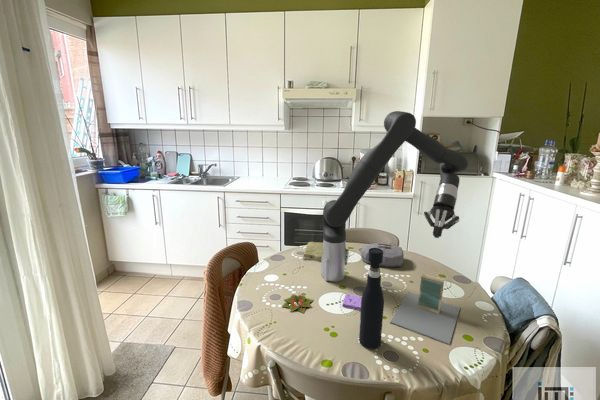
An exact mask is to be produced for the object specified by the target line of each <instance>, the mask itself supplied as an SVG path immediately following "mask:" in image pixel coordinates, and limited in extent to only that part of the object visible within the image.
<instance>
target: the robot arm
mask: <svg viewBox="0 0 600 400" xmlns="http://www.w3.org/2000/svg"><path fill="white" fill-rule="evenodd" d="M383 121H384V122H383V127H384V130H385V131H386V134H385V135H384V137H383V138H382V139H381V141H380V142H378V143H377V144H376V145H375V146H374V147H372V148H371V149H370V150H369V151H367V152H366V153H365V154H364V155H363V156H362V157H361V158H360V159H359V161H358V162H357V163H356V165H355V166H354V168H353V169H352V171H351V173H350V175H349V178H348V180H347V183H346V185H345V187H344V189H343V191H342V193H341V194H340V195H339V196H338V198H337V199H331V200H329V201H328V202H326V203H325V205H324V207H323V210H322V233H323V235H322V236H323V238H322V239H323V241H322V243H323V254H322V258H321V262H320V263H321V264H320V265H321V271H320V272H321V276H322V279H323V280H324V281H325V282H335V283H336V282H337V283H338V282H340V281H341V282H342V281H344V278H345V275H346V274H345V272H346V270H345V268H346V266H345V265H346V251H345V245H346V242H347V241H346V240H347V233H346V222H347V221H348V219H349V218H350V216H351V215H352V213H353V211H354V209H355V207H356V206H357V204H358V203H359V202H360V200H361V199H362V197H363V196H364V195H365V194H366V192H368V190H369V188H370V187H371V186H372V185H373V183H374V182H375V181H376V179H377V178H378V176H379V175H380V173H382V171H383V169H384V168H385V167H386V166H387V164H388V163H389V161H390V160H391V159H392V157H393V156H394V154H395V153H396V152H397V150H399V148H400V147H402V145H403V144H404V143H407V144H410V145H411V146H412V147H414V148H415V149H416V150H418V151H419V152H420V153H422V154H423V155H424V156H426V157H427V158H428V159H430V160H431V161H432V162H434V163H436V164H439V173H440V174H439V176H440V179H439V184H438V187H437V189H436V192H435V193H436V194H435V197H434V200H433V204H432V207H431V208H430V210H428V211H423V215H424V218H425V219H426V221H427V223H428V224H429V226H430V227H432V228H433V231H432V236H433V237H434V238H435V239H439V238H441V237H442V234H443V231H444V230H449V229H450V228H452V227H453V226H455V225H456V224H458V223H459V222H460V216H458V215H456V214H455V207H456V203H457V200H458V190H459V186H460V176H459V175H457V173H460V172H464V171H466V170H467V169H468V167H469V160H468V158H467V157H466V156H465V154H463V153H461V152H459V151H456V150H453V149H450V148H448V147H446V146H445V145H444V144H442V143H441V142H440V141H439V140H437V139H435V138H434V137H432V136H430V135H428V134H426V133H424V132H423V131H421V130H420V129H418V128H416V125H417V119H416V116H415V115H414V114H412V113H410V112H408V111H407V112H406V111H400V110H396V111H395V110H394V111H391V112H389V113H388V114H387V115H386V116H385V118H384V120H383ZM432 217H433V219H434V221H433V219H432ZM346 246H347V245H346Z"/></svg>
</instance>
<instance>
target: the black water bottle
mask: <svg viewBox="0 0 600 400" xmlns="http://www.w3.org/2000/svg"><path fill="white" fill-rule="evenodd" d="M382 260H383V250H381V249H379V248H370V249H369V255H368V261H369V262H370V263H369V264H370V265H369V268H368V274H367V276H366V277H367V279H366V285H365V286H364V289H363V291H362V295H361V297H362V298H361V310H360V319H359V333H358V338H359V339H358V340H359V341H358V342H359V343H360V346H362V347H364V348H365V349H368V350H377V349H379V348H380V346H381V344H382V331H383V319H384V306H385V299H384V292H383V289H382V285H381V281H382V276H381V275H382V274H381V272H382V271H381V269H380V267H381V266H380V264H381V263H382Z"/></svg>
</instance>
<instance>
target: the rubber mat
mask: <svg viewBox="0 0 600 400" xmlns="http://www.w3.org/2000/svg"><path fill="white" fill-rule="evenodd" d="M418 302H419V293H418V294H417V293H414V292H410V291H408V292H407V293H406V295H405V297H404V299H403V300H402V302H401V303H400V305H399V307H398V309H397V310H396V312H395V313H394V315H393V317H391V320H390V322H389V323H390V324H392V325H395V326H397V327H400V328H403V329H405V330H408V331H410V332H414V333H416V334H418V335H422V336H424V337H427V338H429V339H433V340H435V341H438V342H439V343H442V344H446V345H448V344H449V345H448V346H450V344H451V341H452V338H453V337H452V336H453V334H454V330H455V327H456V324H457V320H458V316H459V313H460V310H461V307H460V306H456V305H453V304H450V303H447V302H443V301H442V302H441V309H440V312H439V314H438V313H435V312H432V311H429V310H426V309H423V308H420V307H418Z"/></svg>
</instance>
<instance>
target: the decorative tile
mask: <svg viewBox="0 0 600 400" xmlns="http://www.w3.org/2000/svg"><path fill="white" fill-rule="evenodd" d="M346 250H347V245H345V252H347V251H346ZM322 254H323V242H317V241H316V242H315V241H308V243H307V244H306V248H305V249H304V253H303V259H302V260H304V261H315V262H320V263H321V258H322Z"/></svg>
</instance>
